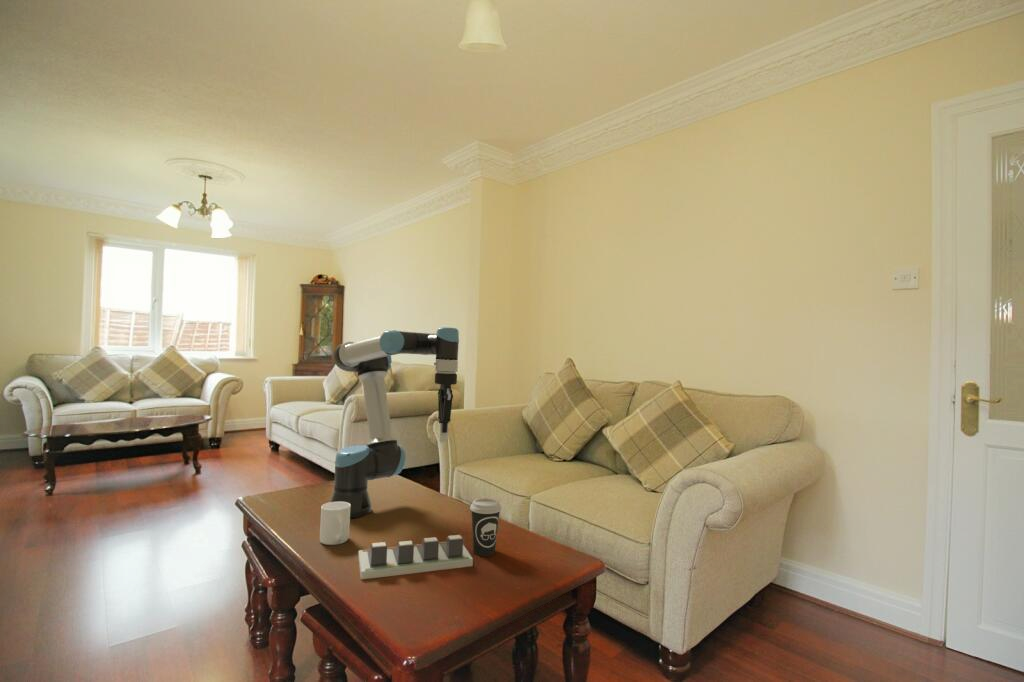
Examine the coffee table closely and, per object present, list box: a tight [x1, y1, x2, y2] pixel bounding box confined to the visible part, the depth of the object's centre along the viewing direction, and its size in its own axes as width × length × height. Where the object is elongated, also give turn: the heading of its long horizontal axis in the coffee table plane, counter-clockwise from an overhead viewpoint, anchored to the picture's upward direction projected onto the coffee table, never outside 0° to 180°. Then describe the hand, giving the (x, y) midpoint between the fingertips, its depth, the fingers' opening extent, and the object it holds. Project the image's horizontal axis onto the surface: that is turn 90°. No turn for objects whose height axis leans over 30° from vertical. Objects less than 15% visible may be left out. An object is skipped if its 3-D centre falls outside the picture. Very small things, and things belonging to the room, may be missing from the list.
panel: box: [357, 540, 474, 580], centre depth 135 cm, size 14×30×2 cm, turn 111°
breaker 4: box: [446, 534, 464, 557], centre depth 136 cm, size 3×4×5 cm
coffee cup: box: [469, 497, 502, 557], centre depth 144 cm, size 10×10×15 cm
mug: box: [319, 501, 351, 546], centre depth 147 cm, size 9×12×11 cm
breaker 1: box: [370, 541, 388, 565], centre depth 129 cm, size 3×4×5 cm
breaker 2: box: [397, 540, 415, 564], centre depth 130 cm, size 3×4×5 cm
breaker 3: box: [421, 536, 440, 559], centre depth 133 cm, size 3×4×5 cm
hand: (443, 441), depth 163 cm, fingers closed
